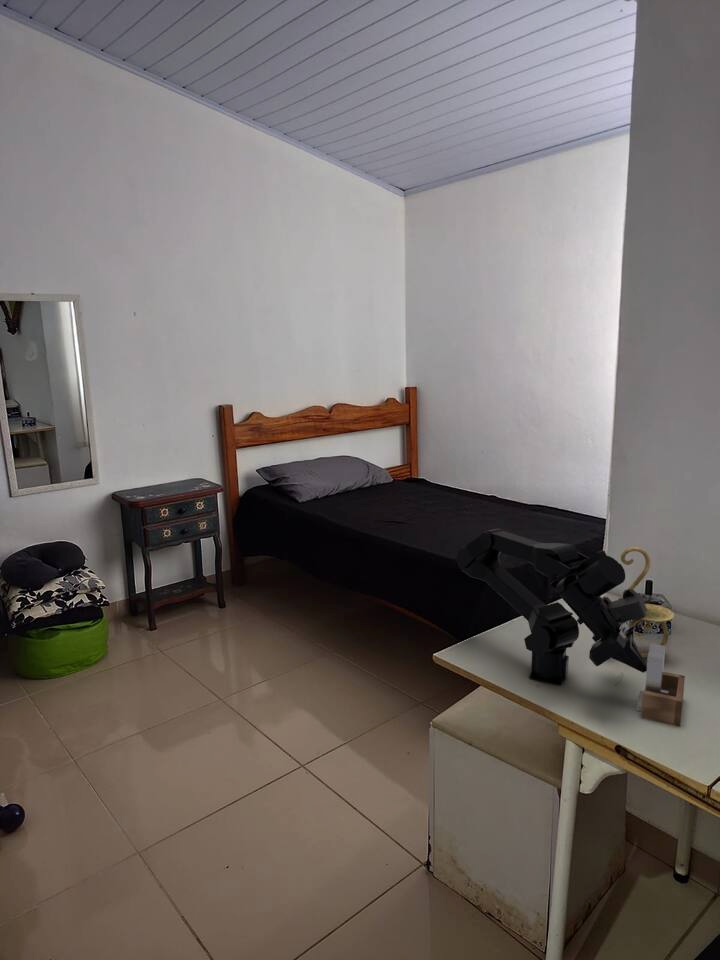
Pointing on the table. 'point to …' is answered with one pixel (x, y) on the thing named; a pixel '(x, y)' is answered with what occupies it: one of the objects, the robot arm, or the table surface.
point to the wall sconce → (653, 611)
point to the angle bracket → (654, 672)
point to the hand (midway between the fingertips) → (645, 670)
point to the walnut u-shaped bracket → (665, 701)
